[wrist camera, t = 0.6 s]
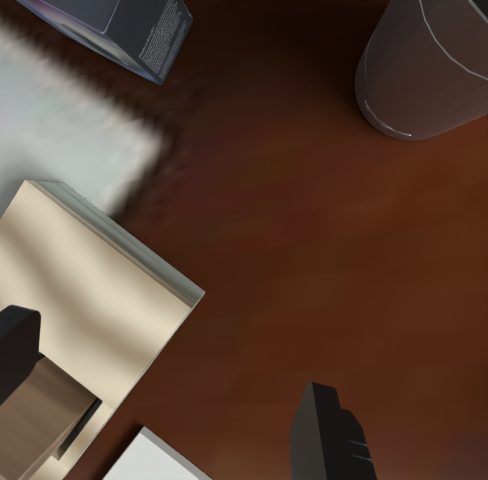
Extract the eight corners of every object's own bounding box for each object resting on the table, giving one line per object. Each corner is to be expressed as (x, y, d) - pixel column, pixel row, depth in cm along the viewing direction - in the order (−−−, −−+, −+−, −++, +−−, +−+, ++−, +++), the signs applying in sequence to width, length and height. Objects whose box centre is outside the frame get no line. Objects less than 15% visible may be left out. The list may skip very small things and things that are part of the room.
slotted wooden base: (64, 182, 33) (25, 179, 28) (205, 292, 33) (191, 308, 28) (-54, 364, 36) (-107, 389, 31) (74, 465, 36) (40, 507, 31)
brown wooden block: (64, 344, 33) (-61, 425, 21) (111, 381, 33) (12, 484, 21) (33, 388, 34) (-105, 490, 22) (79, 425, 34) (-34, 547, 22)
